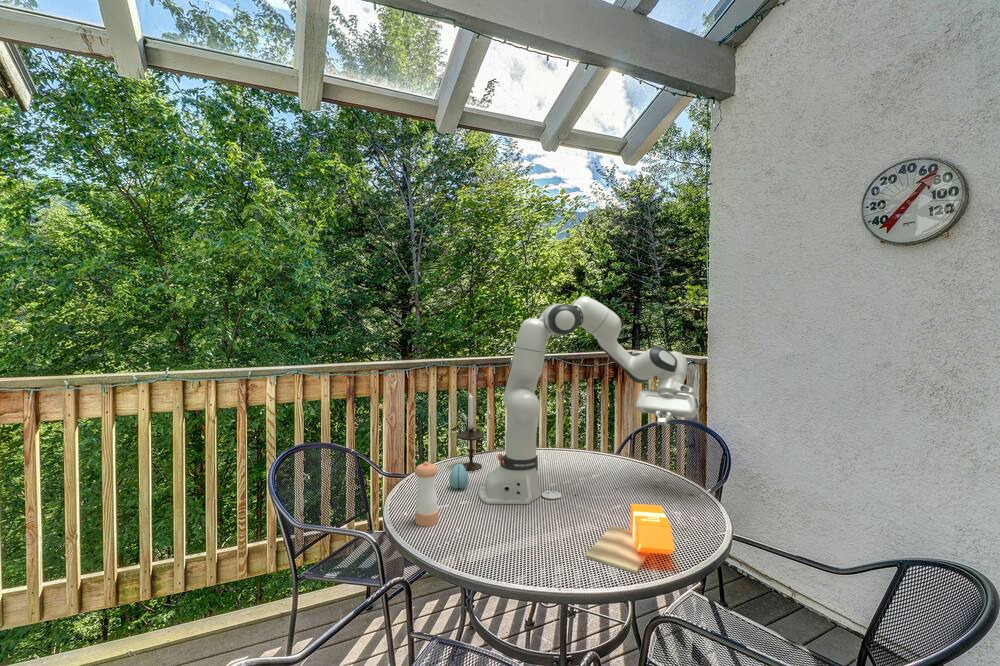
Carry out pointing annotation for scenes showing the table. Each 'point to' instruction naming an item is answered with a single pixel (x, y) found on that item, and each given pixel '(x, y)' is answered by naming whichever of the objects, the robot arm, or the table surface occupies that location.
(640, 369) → the robot arm
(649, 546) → the orange juice
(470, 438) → the candlestick
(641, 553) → the board
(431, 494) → the pepper shaker
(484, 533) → the table surface
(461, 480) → the toy flower bud
